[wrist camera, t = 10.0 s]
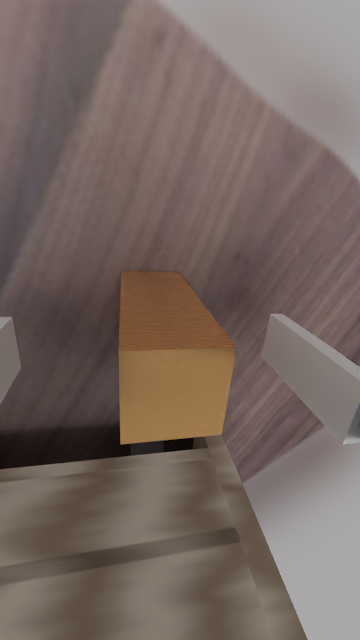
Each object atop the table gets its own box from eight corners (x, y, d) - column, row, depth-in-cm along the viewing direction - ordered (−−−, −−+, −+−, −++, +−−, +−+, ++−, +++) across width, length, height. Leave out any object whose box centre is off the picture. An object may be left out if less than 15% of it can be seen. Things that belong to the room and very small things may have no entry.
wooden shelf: (-13, 500, 24) (-210, 932, 10) (-34, 431, 21) (-363, 917, 7) (203, 473, 28) (285, 755, 14) (212, 412, 25) (330, 694, 11)
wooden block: (124, 460, 26) (124, 625, 16) (121, 270, 19) (118, 351, 9) (166, 456, 26) (191, 610, 16) (179, 272, 19) (236, 347, 9)
